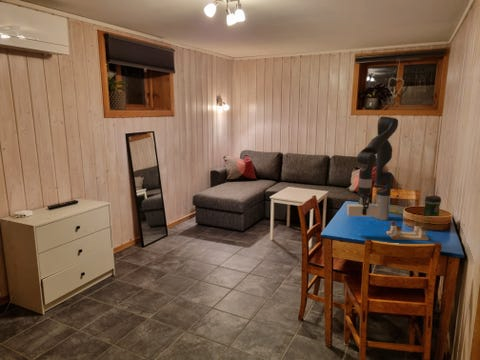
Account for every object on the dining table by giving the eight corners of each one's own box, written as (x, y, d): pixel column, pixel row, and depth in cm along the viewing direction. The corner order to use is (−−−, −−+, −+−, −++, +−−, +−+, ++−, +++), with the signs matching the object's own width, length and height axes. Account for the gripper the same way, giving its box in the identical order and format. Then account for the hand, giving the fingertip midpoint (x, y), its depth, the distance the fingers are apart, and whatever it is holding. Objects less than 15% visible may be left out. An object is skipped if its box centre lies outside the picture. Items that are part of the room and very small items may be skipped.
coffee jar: (430, 225, 227) (433, 197, 223) (420, 221, 234) (422, 195, 231) (440, 223, 230) (443, 196, 227) (430, 220, 237) (433, 194, 234)
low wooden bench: (386, 233, 210) (387, 220, 209) (419, 234, 209) (421, 221, 208) (393, 239, 199) (394, 226, 198) (428, 240, 198) (429, 227, 197)
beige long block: (346, 213, 209) (347, 204, 208) (377, 214, 207) (378, 204, 206) (348, 215, 204) (349, 206, 203) (379, 216, 202) (380, 207, 201)
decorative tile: (408, 217, 245) (409, 212, 244) (379, 212, 257) (380, 208, 257) (415, 212, 259) (415, 207, 258) (387, 207, 272) (387, 203, 271)
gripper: (355, 183, 210) (353, 210, 213) (361, 188, 195) (359, 216, 199) (367, 183, 209) (365, 210, 212) (375, 188, 195) (373, 217, 198)
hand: (362, 213), depth 205 cm, fingers closed on beige long block, 5 cm apart
